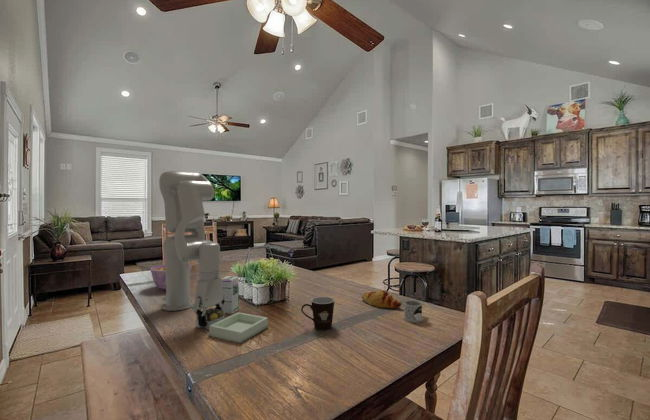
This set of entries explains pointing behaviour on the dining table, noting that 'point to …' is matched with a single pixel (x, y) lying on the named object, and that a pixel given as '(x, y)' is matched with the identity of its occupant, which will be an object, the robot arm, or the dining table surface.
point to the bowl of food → (160, 276)
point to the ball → (213, 317)
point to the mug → (413, 311)
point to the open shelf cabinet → (208, 314)
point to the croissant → (381, 299)
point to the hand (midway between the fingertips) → (210, 321)
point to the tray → (238, 327)
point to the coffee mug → (321, 312)
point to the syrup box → (230, 294)
